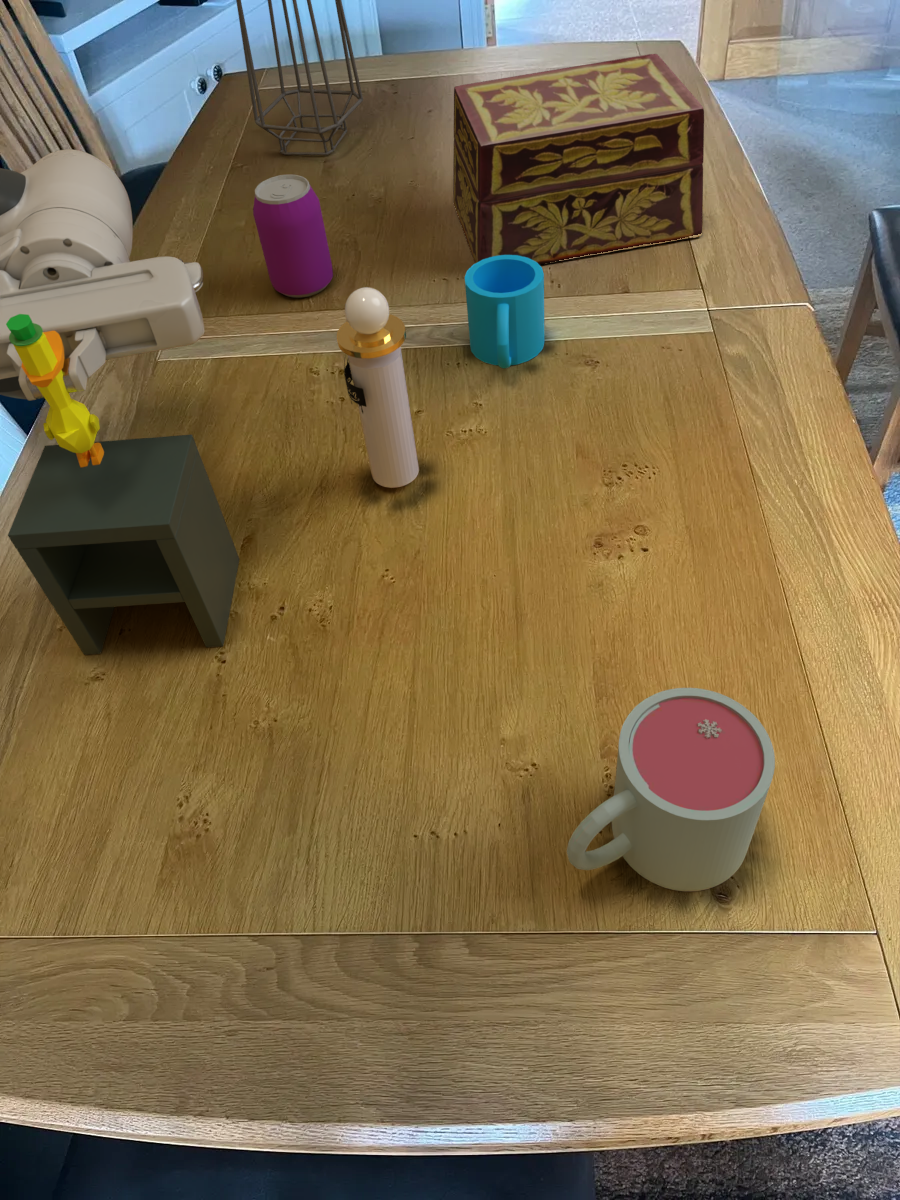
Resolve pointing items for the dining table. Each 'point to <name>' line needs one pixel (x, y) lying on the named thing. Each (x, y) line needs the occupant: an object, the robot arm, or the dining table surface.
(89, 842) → the dining table surface
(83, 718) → the dining table surface
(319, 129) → the geometric lantern
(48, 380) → the toy figure
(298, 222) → the beverage can
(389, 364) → the perfume bottle
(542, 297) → the mug
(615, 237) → the decorative box
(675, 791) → the mug
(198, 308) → the robot arm
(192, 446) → the shelf
